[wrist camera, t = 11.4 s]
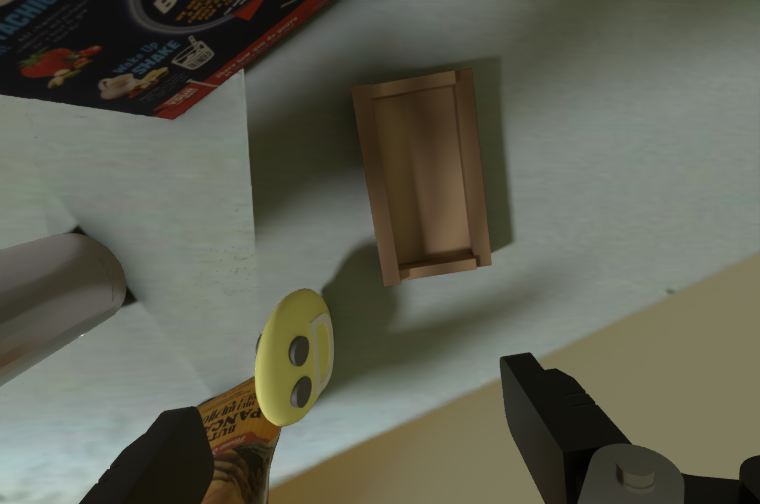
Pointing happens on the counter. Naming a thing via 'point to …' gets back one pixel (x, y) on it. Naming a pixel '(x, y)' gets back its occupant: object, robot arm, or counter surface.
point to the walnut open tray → (424, 174)
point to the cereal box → (136, 49)
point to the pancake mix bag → (239, 446)
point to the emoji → (294, 357)
